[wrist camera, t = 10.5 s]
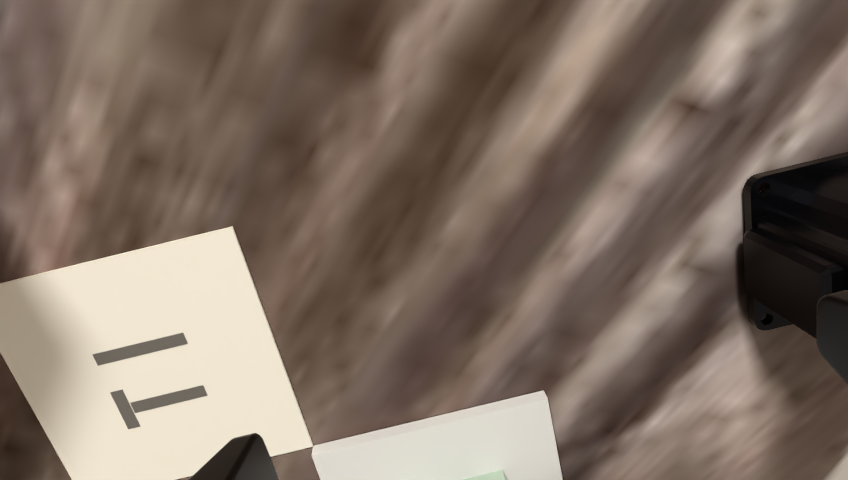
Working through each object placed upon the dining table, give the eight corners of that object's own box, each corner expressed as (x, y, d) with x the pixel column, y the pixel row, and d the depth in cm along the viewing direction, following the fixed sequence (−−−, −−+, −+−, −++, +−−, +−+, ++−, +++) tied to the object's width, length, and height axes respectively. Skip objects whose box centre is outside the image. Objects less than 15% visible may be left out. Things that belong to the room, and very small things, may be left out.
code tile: (235, 223, 20) (231, 227, 20) (314, 440, 23) (313, 447, 23) (-27, 287, 20) (-35, 292, 20) (89, 494, 23) (84, 501, 23)
